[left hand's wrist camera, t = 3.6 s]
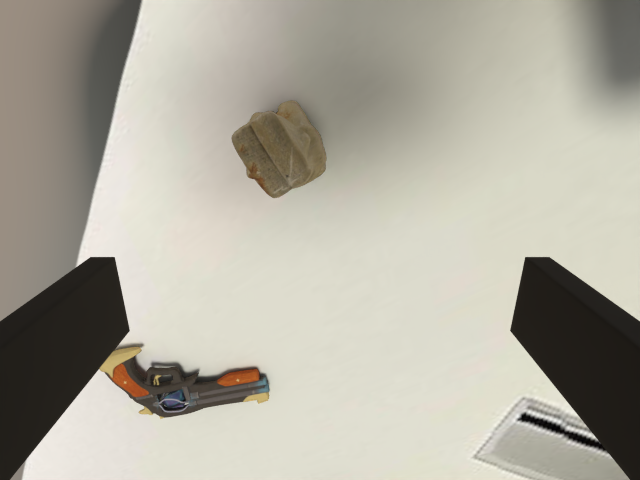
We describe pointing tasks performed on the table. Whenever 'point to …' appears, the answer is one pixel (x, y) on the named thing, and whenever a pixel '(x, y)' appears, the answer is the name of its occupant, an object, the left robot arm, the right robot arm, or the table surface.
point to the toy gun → (181, 386)
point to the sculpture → (280, 149)
